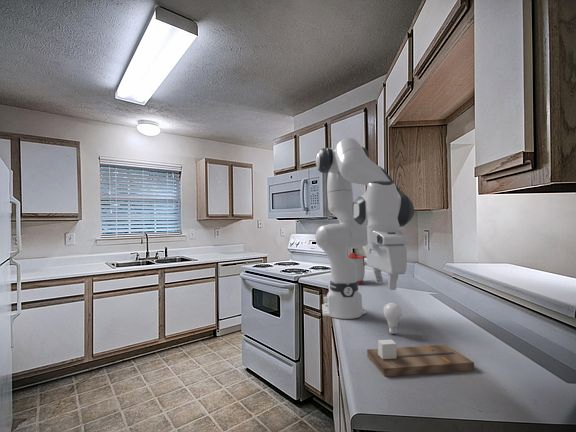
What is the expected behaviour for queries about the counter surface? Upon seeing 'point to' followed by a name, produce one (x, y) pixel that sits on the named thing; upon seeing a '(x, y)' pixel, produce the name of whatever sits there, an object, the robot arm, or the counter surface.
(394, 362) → the fader board
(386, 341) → the fader tab
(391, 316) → the lightbulb
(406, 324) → the counter surface
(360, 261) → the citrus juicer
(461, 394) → the counter surface
